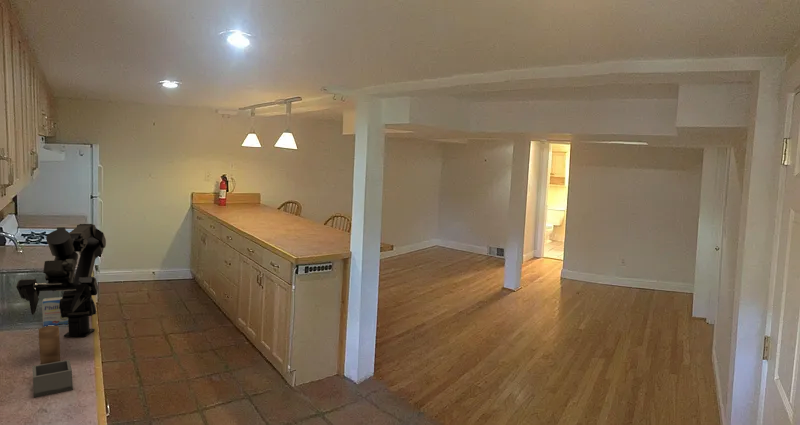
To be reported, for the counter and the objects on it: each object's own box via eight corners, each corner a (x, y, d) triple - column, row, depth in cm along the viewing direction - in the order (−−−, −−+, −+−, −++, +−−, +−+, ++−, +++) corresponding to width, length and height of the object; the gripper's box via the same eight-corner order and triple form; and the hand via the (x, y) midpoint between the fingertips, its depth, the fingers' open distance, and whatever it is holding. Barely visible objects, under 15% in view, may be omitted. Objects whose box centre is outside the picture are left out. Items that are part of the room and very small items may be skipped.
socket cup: (33, 385, 132) (32, 366, 131) (70, 377, 136) (69, 359, 136) (33, 397, 125) (32, 377, 125) (72, 389, 130) (71, 370, 129)
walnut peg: (47, 373, 139) (44, 325, 137) (64, 373, 139) (62, 325, 137) (37, 380, 134) (34, 331, 133) (55, 380, 135) (52, 331, 133)
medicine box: (42, 327, 172) (41, 301, 171) (44, 322, 176) (43, 297, 175) (71, 324, 176) (69, 299, 175) (72, 320, 180) (71, 295, 179)
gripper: (18, 250, 144) (2, 297, 133) (95, 248, 150) (85, 292, 139) (29, 275, 151) (14, 321, 141) (102, 272, 157) (93, 316, 147)
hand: (52, 312), depth 142 cm, fingers open, 9 cm apart
